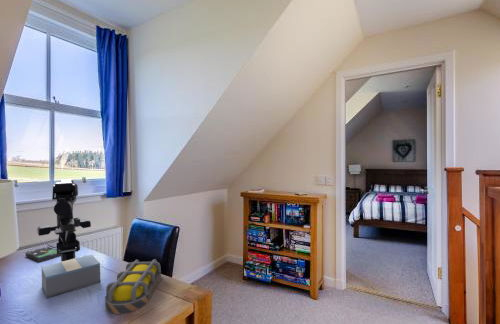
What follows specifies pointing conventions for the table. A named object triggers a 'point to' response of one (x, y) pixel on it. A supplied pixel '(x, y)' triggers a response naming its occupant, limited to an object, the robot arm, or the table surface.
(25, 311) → the table surface
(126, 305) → the cage light
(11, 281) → the table surface
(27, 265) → the table surface
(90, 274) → the storage box
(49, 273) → the lid
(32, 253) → the disk drive
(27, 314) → the table surface
